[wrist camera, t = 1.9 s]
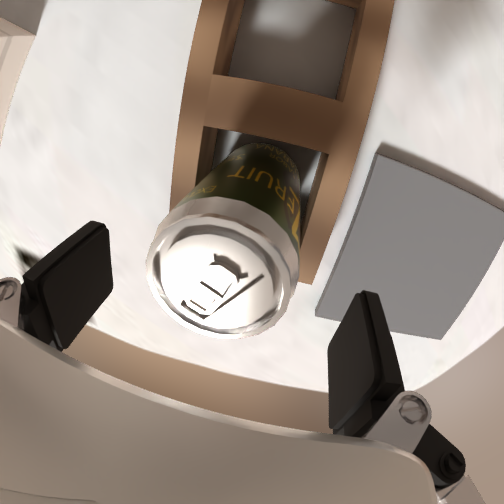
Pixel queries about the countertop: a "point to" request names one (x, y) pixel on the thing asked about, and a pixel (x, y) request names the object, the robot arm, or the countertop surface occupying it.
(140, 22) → the countertop surface
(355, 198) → the countertop surface
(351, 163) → the can holder
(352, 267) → the rubber mat
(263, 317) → the beer can
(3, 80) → the pizza boxes
